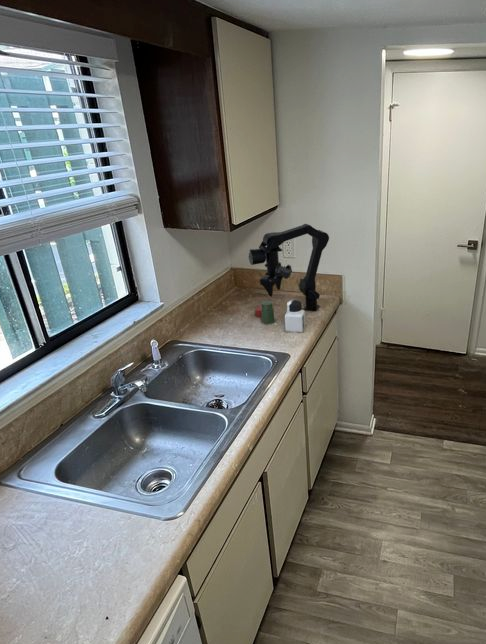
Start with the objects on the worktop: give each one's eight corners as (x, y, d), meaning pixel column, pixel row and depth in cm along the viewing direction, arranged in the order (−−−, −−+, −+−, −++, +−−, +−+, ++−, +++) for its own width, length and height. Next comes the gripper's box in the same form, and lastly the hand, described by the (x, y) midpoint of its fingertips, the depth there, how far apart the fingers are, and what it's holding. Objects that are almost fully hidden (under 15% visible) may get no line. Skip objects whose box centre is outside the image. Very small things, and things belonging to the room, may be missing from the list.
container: (305, 325, 201) (304, 298, 196) (302, 332, 194) (301, 305, 189) (288, 324, 202) (287, 298, 197) (285, 331, 195) (283, 304, 190)
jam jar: (265, 318, 208) (263, 299, 204) (276, 319, 207) (275, 301, 203) (260, 323, 203) (258, 304, 199) (271, 324, 202) (270, 305, 198)
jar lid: (266, 317, 209) (265, 311, 208) (253, 316, 210) (252, 310, 209) (271, 312, 215) (270, 306, 214) (259, 311, 216) (258, 305, 215)
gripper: (281, 268, 190) (283, 301, 196) (296, 256, 206) (297, 287, 213) (257, 267, 193) (260, 299, 199) (274, 255, 209) (276, 285, 215)
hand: (275, 293), depth 206 cm, fingers open, 9 cm apart
